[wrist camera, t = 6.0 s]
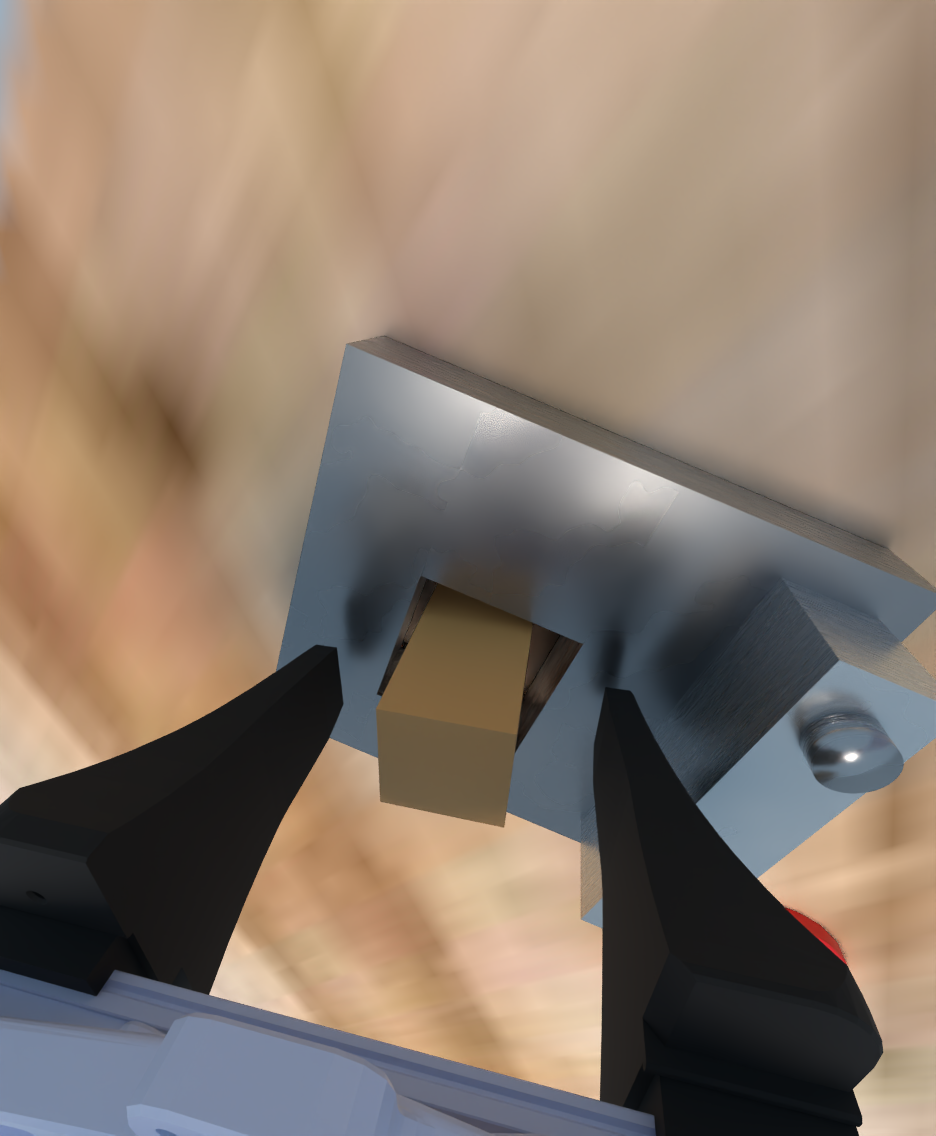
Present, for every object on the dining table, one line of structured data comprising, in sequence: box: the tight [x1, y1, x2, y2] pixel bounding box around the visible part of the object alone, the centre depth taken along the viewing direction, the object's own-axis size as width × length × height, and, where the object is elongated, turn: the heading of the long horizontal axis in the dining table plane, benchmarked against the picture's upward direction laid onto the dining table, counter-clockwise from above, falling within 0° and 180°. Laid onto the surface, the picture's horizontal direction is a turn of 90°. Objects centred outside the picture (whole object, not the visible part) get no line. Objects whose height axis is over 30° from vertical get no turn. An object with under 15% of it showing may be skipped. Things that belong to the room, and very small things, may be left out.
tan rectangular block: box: [376, 583, 533, 827], centre depth 14 cm, size 3×3×6 cm
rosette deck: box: [276, 336, 936, 928], centre depth 13 cm, size 14×12×6 cm
